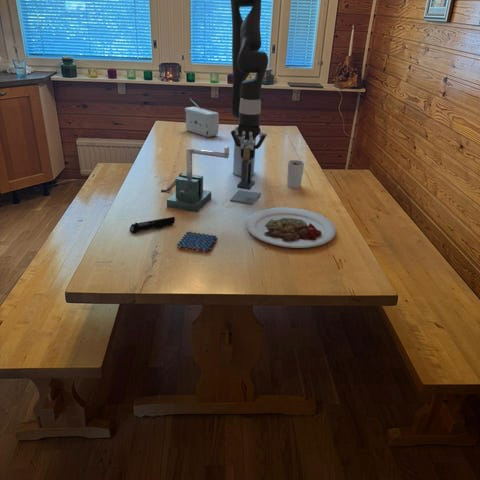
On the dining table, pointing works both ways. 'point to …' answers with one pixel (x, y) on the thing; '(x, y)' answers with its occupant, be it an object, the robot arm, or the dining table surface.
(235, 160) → the robot arm
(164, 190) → the tomahawk
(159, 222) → the electric trimmer
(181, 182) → the vise
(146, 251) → the dining table surface
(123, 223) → the dining table surface
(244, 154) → the brown and black post
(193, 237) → the woven mat
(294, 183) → the grey cup
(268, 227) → the plated food
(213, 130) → the stereo radio cassette player
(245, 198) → the slate pad
